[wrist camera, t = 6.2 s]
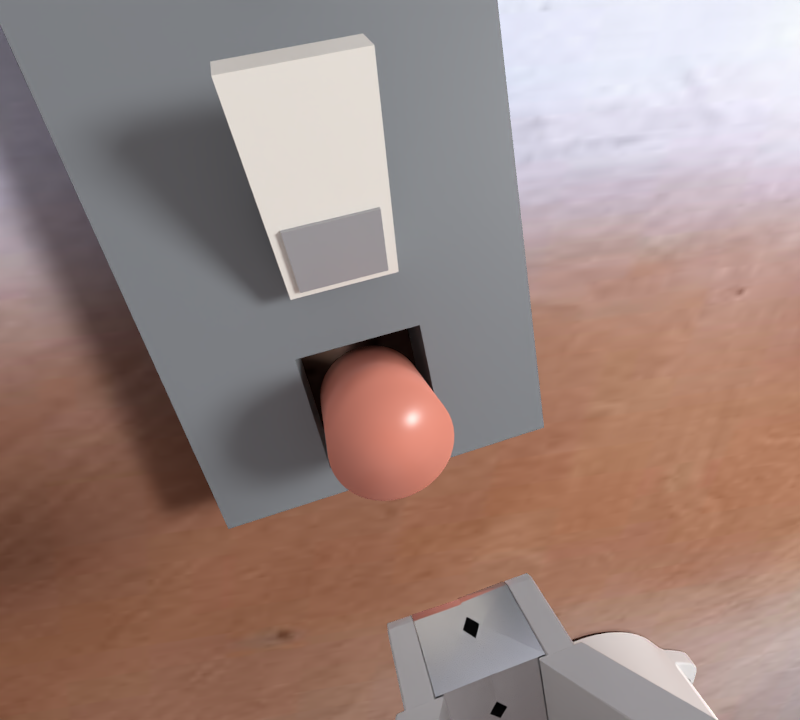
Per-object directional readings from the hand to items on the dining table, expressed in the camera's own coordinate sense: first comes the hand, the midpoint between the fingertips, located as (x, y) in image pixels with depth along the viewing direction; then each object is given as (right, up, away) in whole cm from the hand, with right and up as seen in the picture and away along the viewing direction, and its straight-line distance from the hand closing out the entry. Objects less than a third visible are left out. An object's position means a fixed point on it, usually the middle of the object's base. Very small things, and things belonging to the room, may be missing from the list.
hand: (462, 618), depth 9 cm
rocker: (-4, +11, +5) cm, 12 cm away
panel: (-5, +11, +10) cm, 16 cm away
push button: (-2, +4, +10) cm, 11 cm away
